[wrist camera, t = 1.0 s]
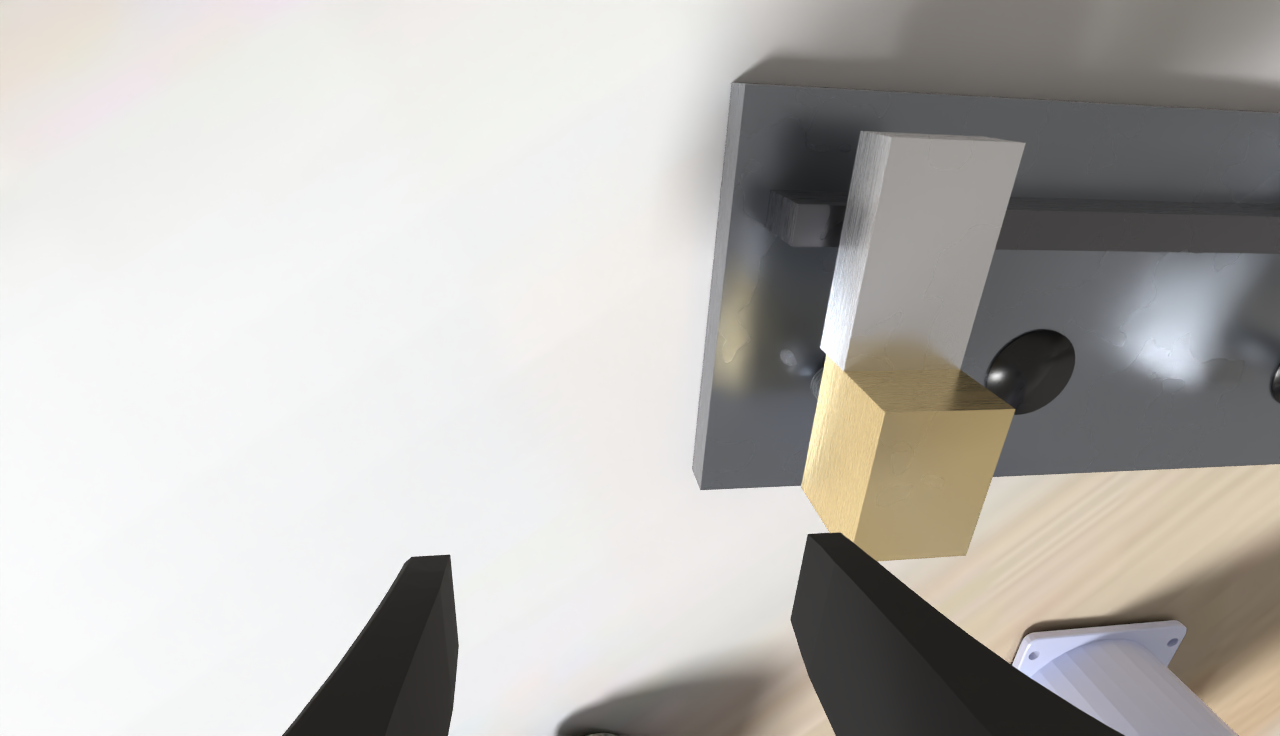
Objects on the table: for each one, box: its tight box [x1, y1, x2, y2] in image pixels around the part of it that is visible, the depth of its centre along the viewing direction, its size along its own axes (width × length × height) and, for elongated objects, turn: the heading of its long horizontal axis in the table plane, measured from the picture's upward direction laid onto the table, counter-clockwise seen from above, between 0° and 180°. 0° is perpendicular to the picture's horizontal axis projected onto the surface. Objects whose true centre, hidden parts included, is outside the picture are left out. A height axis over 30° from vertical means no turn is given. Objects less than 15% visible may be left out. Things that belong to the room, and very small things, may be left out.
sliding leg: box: [801, 131, 1026, 561], centre depth 16 cm, size 9×3×5 cm, turn 177°
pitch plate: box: [692, 83, 1280, 490], centre depth 18 cm, size 12×25×7 cm, turn 87°
